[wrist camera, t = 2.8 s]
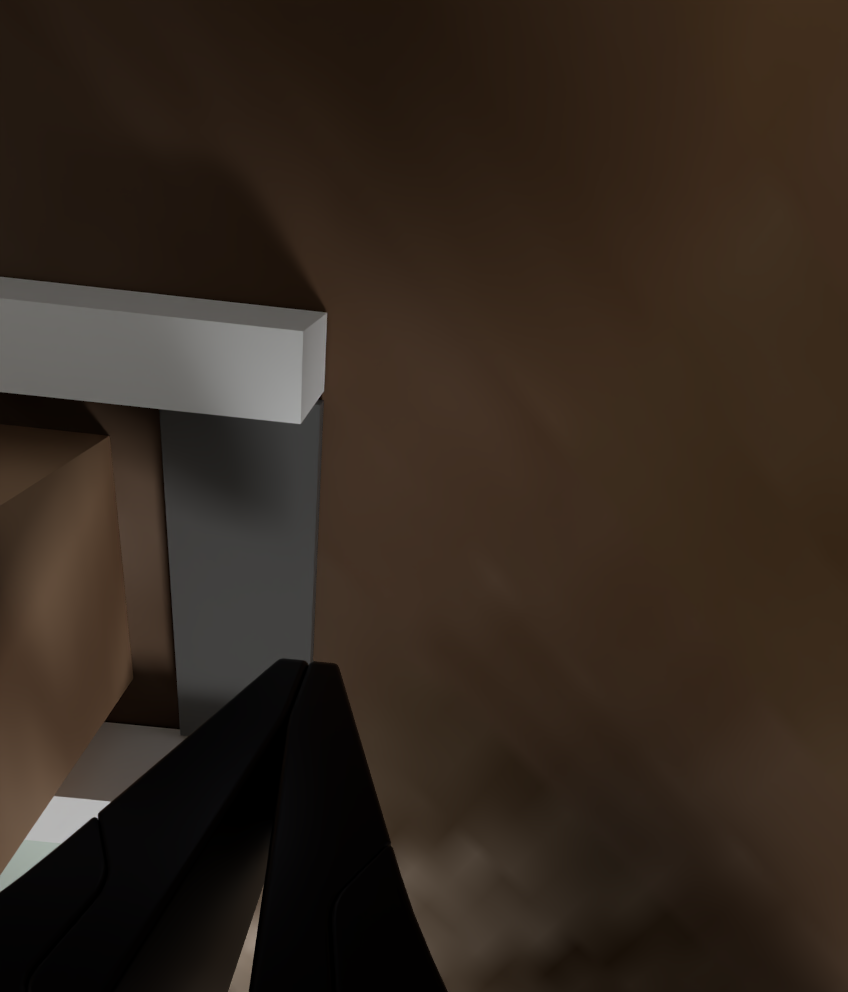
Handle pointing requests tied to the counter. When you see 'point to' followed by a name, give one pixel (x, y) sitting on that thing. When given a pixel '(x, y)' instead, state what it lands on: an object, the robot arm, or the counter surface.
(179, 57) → the counter surface
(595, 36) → the counter surface
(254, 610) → the channel
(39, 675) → the block
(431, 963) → the robot arm
